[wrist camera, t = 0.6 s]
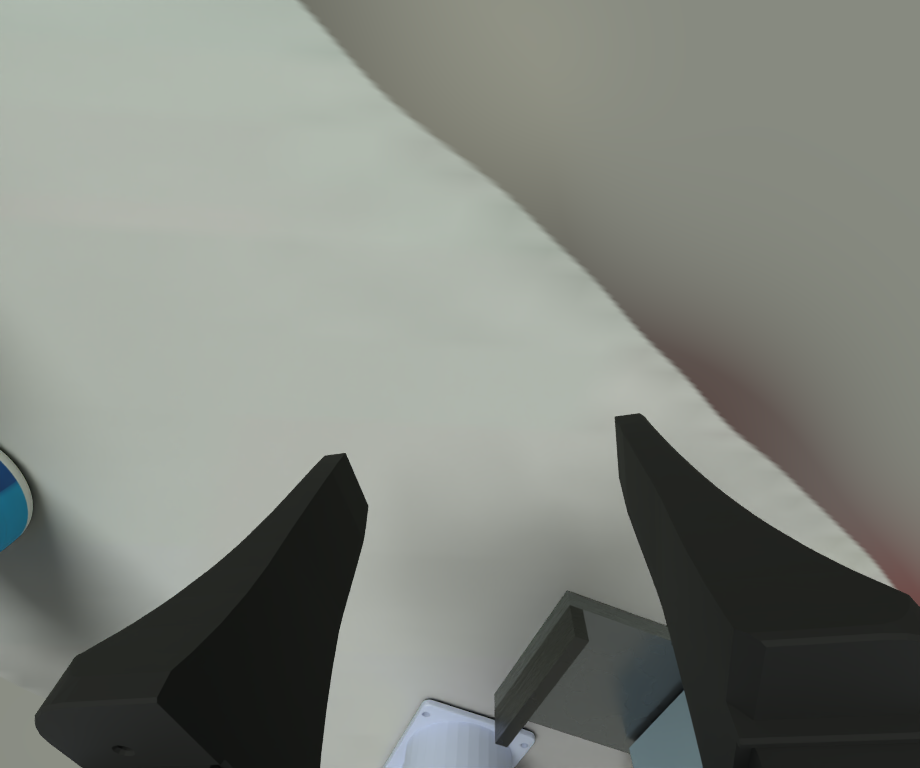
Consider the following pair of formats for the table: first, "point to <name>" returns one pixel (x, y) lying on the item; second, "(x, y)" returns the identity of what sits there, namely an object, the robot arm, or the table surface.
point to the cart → (668, 740)
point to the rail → (590, 676)
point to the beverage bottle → (13, 502)
